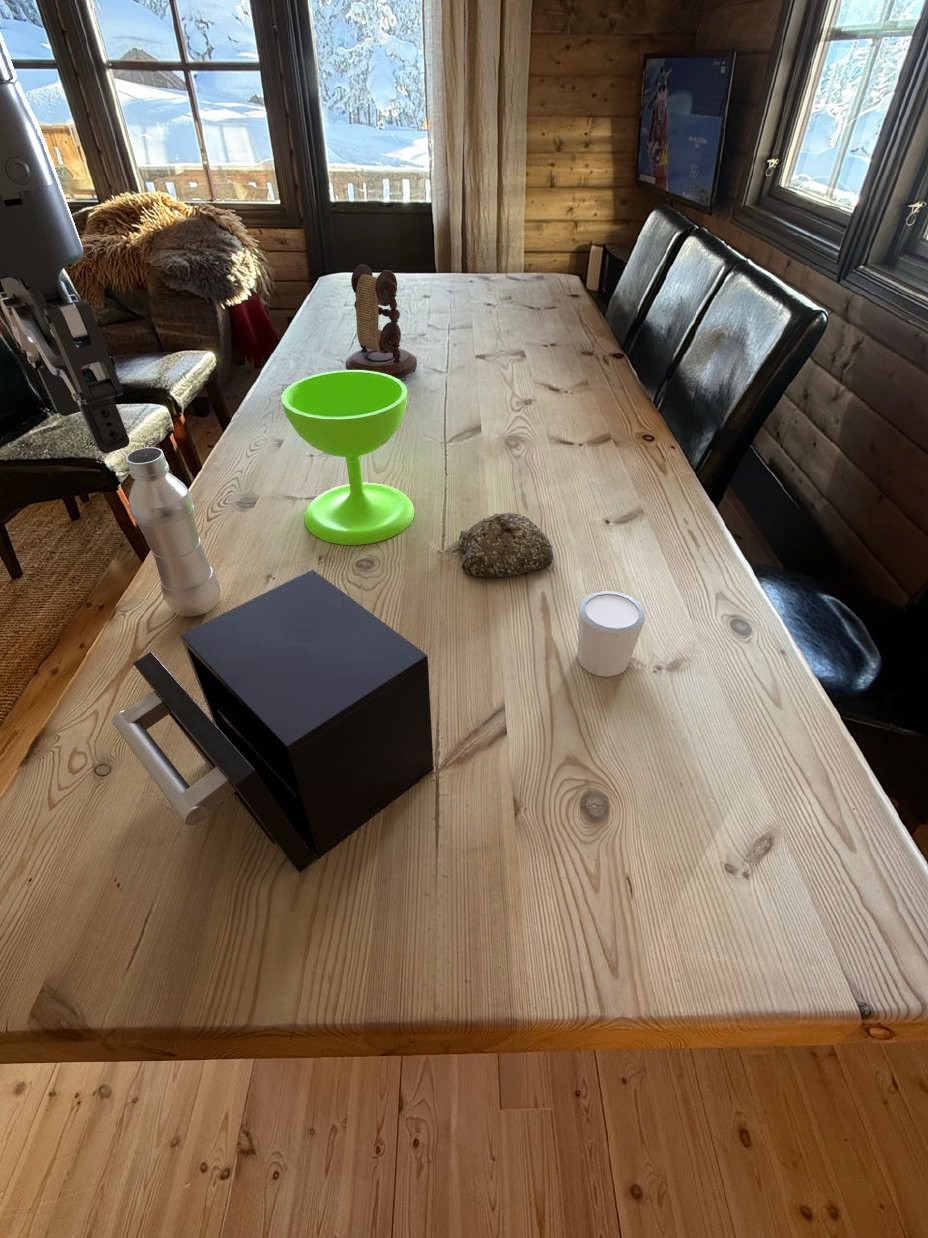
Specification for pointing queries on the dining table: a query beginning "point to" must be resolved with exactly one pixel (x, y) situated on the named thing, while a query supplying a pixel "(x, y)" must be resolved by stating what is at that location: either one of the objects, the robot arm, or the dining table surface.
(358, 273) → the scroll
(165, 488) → the silver bottle
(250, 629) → the oven
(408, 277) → the dining table surface
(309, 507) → the wineglass
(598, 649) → the white cylindrical container
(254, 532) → the dining table surface
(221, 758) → the oven door
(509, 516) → the bread roll
